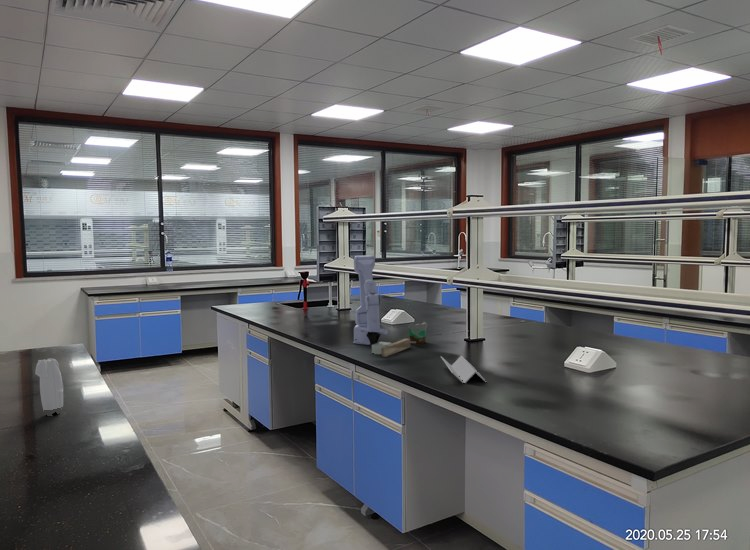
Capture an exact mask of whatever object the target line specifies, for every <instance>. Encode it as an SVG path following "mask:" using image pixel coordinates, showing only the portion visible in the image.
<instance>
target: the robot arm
mask: <svg viewBox="0 0 750 550" xmlns="http://www.w3.org/2000/svg"><path fill="white" fill-rule="evenodd" d="M375 258H376V257H375V255H374V254H371V255H355V256H354V257H353V268H354V269H353V270H354V273H357V274H358V282H359V286H358V287H359V297H360V298H359V303H360V306H359V307H357V308H356V309H355V315H354V318H355V320H354V322H355V324H356V325H355V326H354V327H353V342H352V343H353V344H358V345H367V346H369V345H370V347H371V348H372V345H373V344H376V343H379V340H380V337H381V336H382V335H388V334H389V330H388V329H385V328H381V327H380V326H381V325H380V306H381V301H382V300H381V295H380V293H379V291H378V288H377V284H376V281H374V279H373V270H374V268H375V266H376V259H375Z"/></svg>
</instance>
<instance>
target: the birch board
mask: <svg viewBox="0 0 750 550" xmlns="http://www.w3.org/2000/svg"><path fill="white" fill-rule="evenodd" d="M391 343H392V342H391ZM410 347H411V344H410V338H403V339H401V340H398V341H395V342H393V343H392V344H390V345H387V346H384V347H382V348H381V351H382V355H381V357H383V358H384V357H385V358H387V357H390V356H392V355H394V354H397V353H399V352H401V351H404V350H406V349H410ZM389 355H390V356H389Z"/></svg>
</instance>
